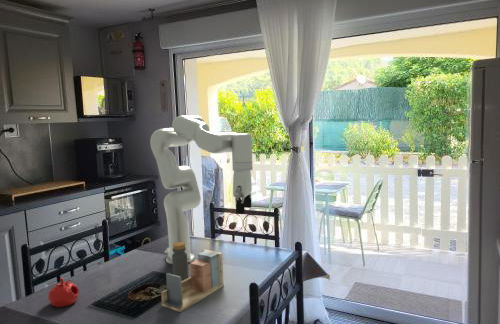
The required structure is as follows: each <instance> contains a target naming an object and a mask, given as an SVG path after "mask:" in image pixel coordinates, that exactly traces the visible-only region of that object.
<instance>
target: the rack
mask: <svg viewBox="0 0 500 324" xmlns="http://www.w3.org/2000/svg"><path fill="white" fill-rule="evenodd" d="M201 251H202V252H201ZM201 251H200V252H199V253H197V259H194V260H193V261H191V262H189V269H190V276H188V278H187V279H185V280H183V281H181V283H182V299H183V305H182V306H180V307H179V308H176V307H173V306H170V305H167V304H164V302H166V301H167V300H168V298H167V288H166V289H164V290H163V291H161V292H160V296H161V298H160V299H161V307H164V308H168V309H171V310H173V311H176V312H180V313H182V312H184V311H185V310H187V309H189V308H191V306H193V305H194V304H196V303H198V302H200V301H201V300H203V299H205V298H206V297H207V296H209V295H211V294H213V293H214V292H217V291H218V290H219V289H221V288H222V287H224V285H225V284H224V269H223V268H224V263H223V253H222V252H218V251H215V250H208V249H205V248H204V249H202V250H201Z"/></svg>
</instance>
